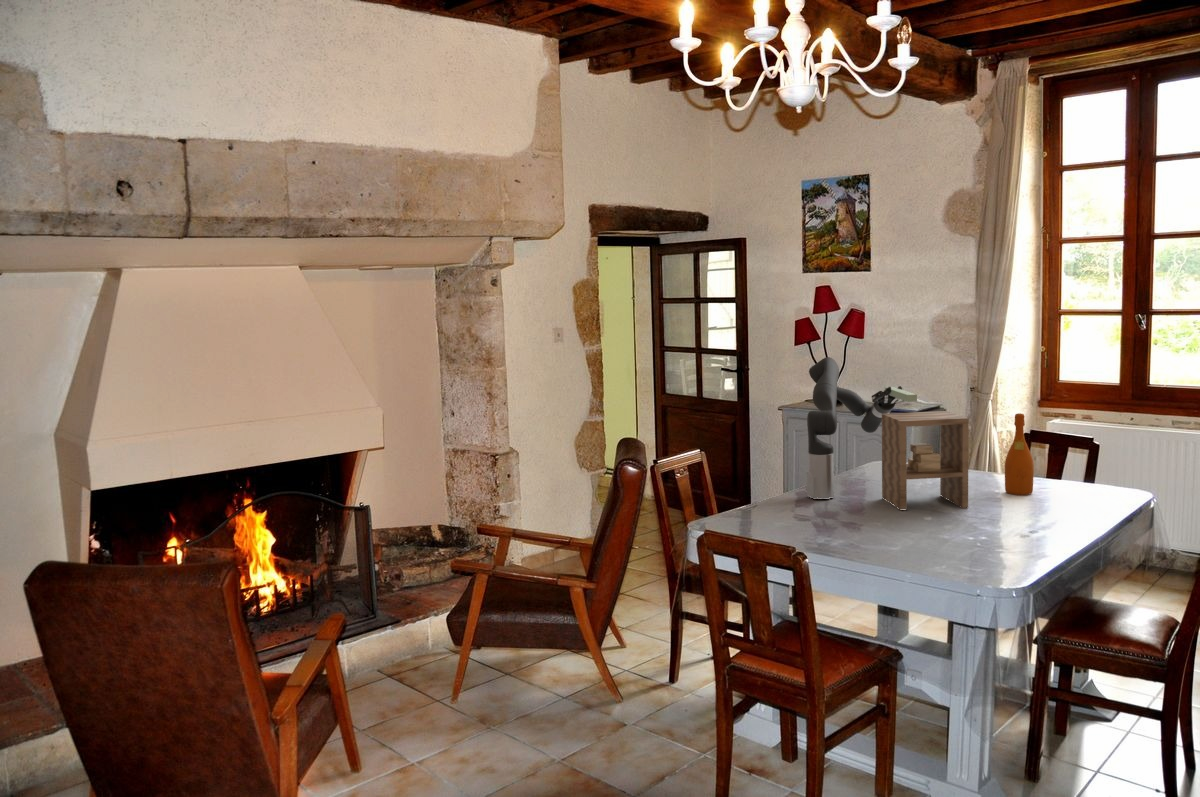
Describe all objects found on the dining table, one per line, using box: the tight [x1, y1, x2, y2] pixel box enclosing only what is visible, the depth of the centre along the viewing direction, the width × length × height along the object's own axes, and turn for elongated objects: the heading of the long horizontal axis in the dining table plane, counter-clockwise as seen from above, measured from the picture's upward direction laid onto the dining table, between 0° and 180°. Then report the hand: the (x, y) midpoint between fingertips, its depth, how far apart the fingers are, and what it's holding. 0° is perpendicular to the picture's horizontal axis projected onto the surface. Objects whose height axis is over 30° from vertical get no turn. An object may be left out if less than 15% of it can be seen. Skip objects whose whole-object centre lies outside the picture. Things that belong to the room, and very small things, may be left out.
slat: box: [884, 386, 918, 403], centre depth 365 cm, size 26×4×2 cm, turn 2°
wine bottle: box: [1004, 412, 1035, 496], centre depth 353 cm, size 10×10×30 cm
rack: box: [881, 410, 970, 510], centre depth 343 cm, size 20×24×32 cm
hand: (895, 388), depth 370 cm, fingers closed on slat, 3 cm apart
